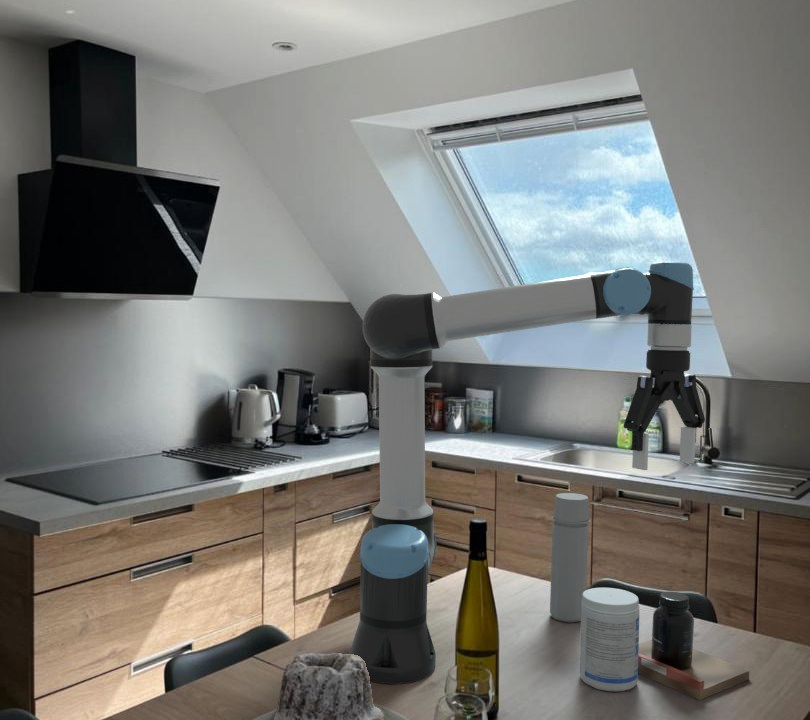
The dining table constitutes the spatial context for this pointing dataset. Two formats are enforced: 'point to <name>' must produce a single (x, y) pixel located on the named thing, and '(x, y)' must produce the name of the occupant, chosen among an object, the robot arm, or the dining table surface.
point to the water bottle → (569, 556)
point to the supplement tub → (609, 639)
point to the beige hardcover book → (692, 673)
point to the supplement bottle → (673, 631)
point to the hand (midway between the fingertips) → (663, 465)
